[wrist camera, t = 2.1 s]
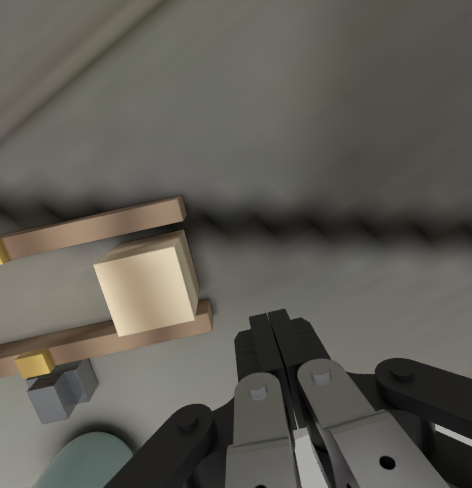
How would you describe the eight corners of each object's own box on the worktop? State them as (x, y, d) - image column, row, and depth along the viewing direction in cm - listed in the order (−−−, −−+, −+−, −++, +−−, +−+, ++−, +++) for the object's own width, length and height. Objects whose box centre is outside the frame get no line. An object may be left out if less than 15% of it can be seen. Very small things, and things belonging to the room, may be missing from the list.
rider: (183, 229, 24) (174, 246, 19) (199, 289, 25) (194, 320, 20) (119, 243, 24) (93, 264, 19) (138, 302, 25) (118, 336, 20)
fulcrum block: (86, 354, 26) (66, 382, 23) (98, 384, 27) (80, 416, 24) (40, 364, 26) (13, 394, 23) (53, 394, 27) (29, 427, 24)
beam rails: (181, 194, 23) (175, 199, 20) (213, 315, 26) (212, 337, 23) (-100, 257, 24) (-151, 272, 20) (-41, 371, 26) (-77, 400, 23)
